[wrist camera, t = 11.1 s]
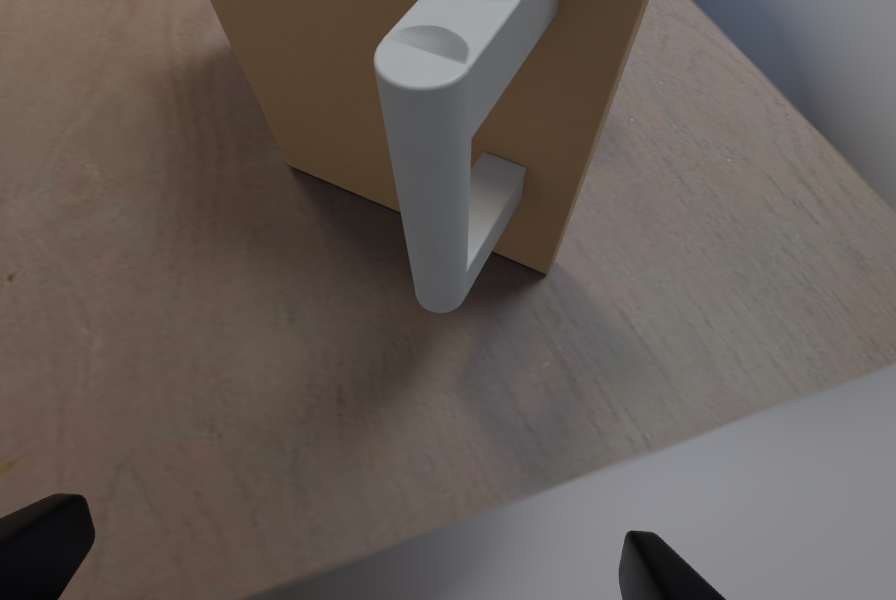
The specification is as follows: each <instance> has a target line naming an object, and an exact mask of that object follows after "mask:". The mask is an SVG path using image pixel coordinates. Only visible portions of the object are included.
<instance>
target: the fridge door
mask: <svg viewBox="0 0 896 600" xmlns="http://www.w3.org/2000/svg"><path fill="white" fill-rule="evenodd" d="M210 1H211V3H212V6H213V8H214V10H215V12H216V14H217V16H218V18H219V20H220V23H221V25H222V27H223V29H224V31H225V33H226V35H227V37H228V40H229V42H230V44H231V46H232V48H233V50H234V52H235V54H236V56H237V59H238V61H239V63H240V65H241V67H242V69H243V71H244V73H245V76H246V78H247V80H248V82H249V84H250V86H251V88H252V90H253V93H254V95H255V97H256V99H257V101H258V103H259V105H260V107H261V109H262V112H263V114H264V116H265V118H266V120H267V122H268V124H269V126H270V129H271V131H272V133H273V135H274V137H275V139H276V141H277V143H278V146H279V148H280V150H281V152H282V154H283V156H284V158H285V160H286V162H287V164H288V165H289V166H292V167H294V168H296V169H299V170H301V171H304V172H306V173H308V174H311V175H313V176H315V177H318V178H320V179H322V180H325V181H327V182H330V183H332V184H334V185H337V186H339V187H341V188H344V189H346V190H348V191H351V192H353V193H356V194H358V195H360V196H363V197H365V198H367V199H370V200H372V201H374V202H377V203H379V204H381V205H384V206H386V207H389V208H391V209H393V210H396V211H398V212H400V213H401V217H402V222H403V228H404V233H405V239H406V244H407V249H408V255H409V260H410V266H411V271H412V277H413V282H414V288H415V293H416V297H417V300H418V302H419V303H420V304H421V305H422V306H423V307H424V308H425V309H427V310H429V311H431V312H434V313H447V312H450V311H453V310H455V309H456V308H458V307H459V306H460V305H461V304H462V302H463V301H464V299H465V297H466V295H467V294H468V292H469V290H470V288H471V287H472V285H473V283H474V281H475V280H476V278H477V276H478V274H479V273H480V271H481V269H482V267H483V266H484V264H485V262H486V260H487V259H488V257H489V255H490V253H491V252H492V251H493V252H495V253H497V254H500V255H502V256H504V257H507V258H509V259H511V260H514V261H516V262H518V263H521V264H523V265H526V266H528V267H530V268H533V269H535V270H537V271H540V272H542V273H544V274H548V272H549V270H550V268H551V266H552V264H553V262H554V260H555V258H556V256H557V253H558V250H559V247H560V245H561V242H562V239H563V236H564V234H565V231H566V228H567V225H568V222H569V220H570V217H571V214H572V211H573V209H574V206H575V203H576V200H577V198H578V195H579V192H580V189H581V187H582V184H583V181H584V178H585V175H586V173H587V170H588V167H589V164H590V162H591V159H592V156H593V153H594V151H595V148H596V145H597V142H598V140H599V137H600V134H601V131H602V128H603V126H604V123H605V120H606V117H607V115H608V112H609V109H610V106H611V104H612V101H613V98H614V95H615V92H616V90H617V87H618V84H619V81H620V79H621V76H622V73H623V70H624V68H625V65H626V62H627V59H628V57H629V54H630V51H631V48H632V45H633V43H634V40H635V37H636V34H637V32H638V29H639V26H640V23H641V21H642V18H643V15H644V12H645V10H646V7H647V4H648V1H649V0H210Z"/></svg>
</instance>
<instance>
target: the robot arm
mask: <svg viewBox="0 0 896 600" xmlns="http://www.w3.org/2000/svg"><path fill="white" fill-rule="evenodd" d="M94 539H95V529H94V525H93V522H92V518H91V514H90V511H89V507H88V504H87V501H86V499H85V498H84V497H83V496H82V495H78V494H63V493H60V494H54V495H51V496H48V497H46V498H44V499H42V500H40V501H38V502H35V503H33V504H31V505H29V506H27V507H24V508H22V509H20V510H18V511H16V512H13V513H11V514H9V515H7V516H5V517H2V518H0V600H58V599H59V597H60V596H61V594H62V592H63V591H64V589H65V588H66V586H67V585H68V583H69V582H70V580H71V579H72V577H73V575H74V574H75V572H76V571H77V569H78V568H79V566H80V565H81V563H82V562H83V560H84V559H85V557H86V555H87V554H88V552H89V551H90V549H91V547H92V545H93V543H94ZM619 584H620V589H621V594H622V599H623V600H726V599H725V598H724V597H722V595H721V594H719V593H718V592H717V591H716V590H715V589H714V588H713V587H712V586H711V585H710V584H709V583H708V582H707V581H706V580H705V579H704V578H703V577H701V576H700V575H699V574H698V573H697V572H696V571H695V570H694V569H693V568H692V567H691V566H690V565H689V564H688V563H687V562H685V561H684V560H683V559H682V558H681V557H680V556H679V555H678V554H677V553H676V552H675V551H674V550H673V549H672V548H671V547H670V546H668V544H666V543H665V542H664V541H663V540H662V539H661V538H660V537H659V536H658V535H656V534H655V533H653V532H646V531H645V532H644V531H629V532H628V533H627V534H626V536H625V540H624V545H623V550H622V556H621V560H620V566H619Z"/></svg>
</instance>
